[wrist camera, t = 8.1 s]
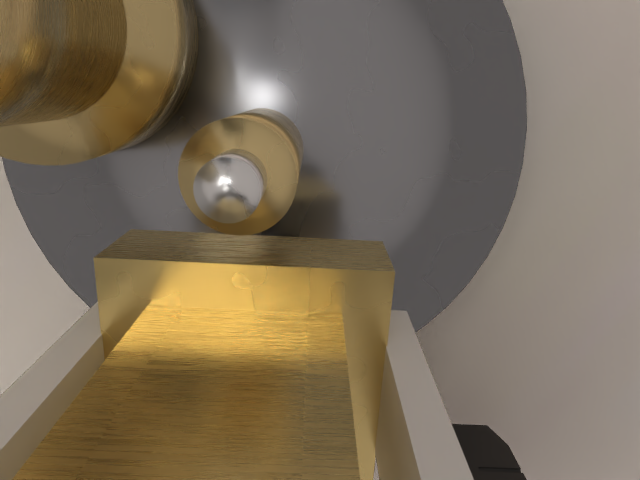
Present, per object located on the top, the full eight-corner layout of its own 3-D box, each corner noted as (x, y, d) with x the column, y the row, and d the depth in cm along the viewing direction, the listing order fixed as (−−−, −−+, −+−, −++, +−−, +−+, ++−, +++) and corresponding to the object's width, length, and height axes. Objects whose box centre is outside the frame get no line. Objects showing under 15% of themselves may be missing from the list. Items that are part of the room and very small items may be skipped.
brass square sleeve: (131, 229, 11) (-134, 429, 5) (382, 241, 12) (472, 452, 5) (145, 437, 13) (-30, 795, 7) (362, 446, 13) (407, 805, 7)
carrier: (-31, -154, 11) (-1219, -984, 3) (545, -117, 12) (1250, -752, 3) (38, 340, 15) (-337, 679, 6) (467, 358, 15) (661, 708, 7)
